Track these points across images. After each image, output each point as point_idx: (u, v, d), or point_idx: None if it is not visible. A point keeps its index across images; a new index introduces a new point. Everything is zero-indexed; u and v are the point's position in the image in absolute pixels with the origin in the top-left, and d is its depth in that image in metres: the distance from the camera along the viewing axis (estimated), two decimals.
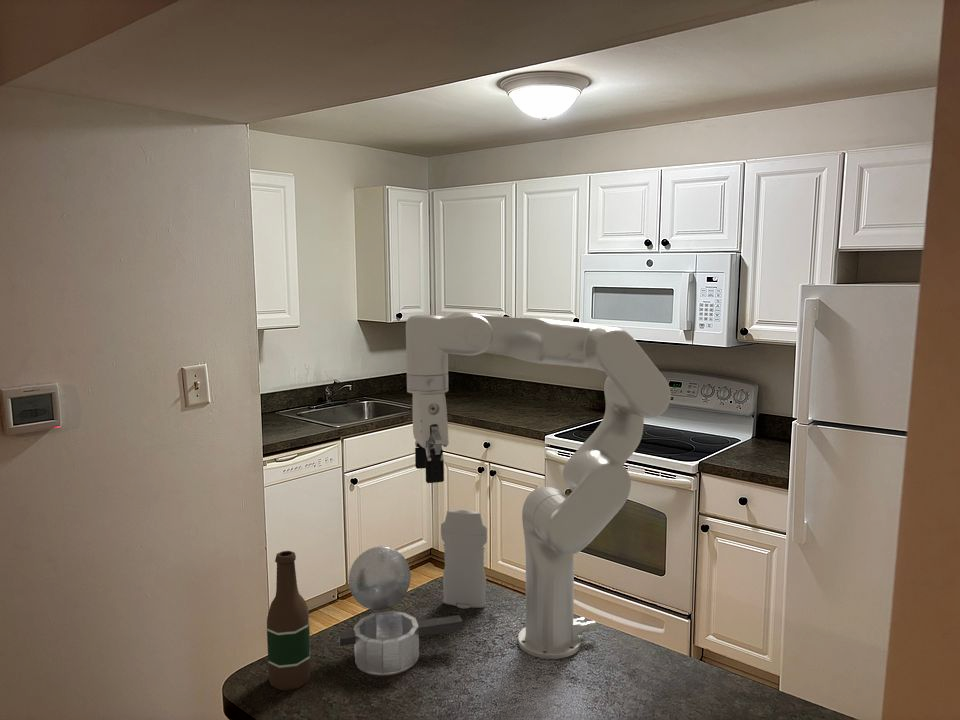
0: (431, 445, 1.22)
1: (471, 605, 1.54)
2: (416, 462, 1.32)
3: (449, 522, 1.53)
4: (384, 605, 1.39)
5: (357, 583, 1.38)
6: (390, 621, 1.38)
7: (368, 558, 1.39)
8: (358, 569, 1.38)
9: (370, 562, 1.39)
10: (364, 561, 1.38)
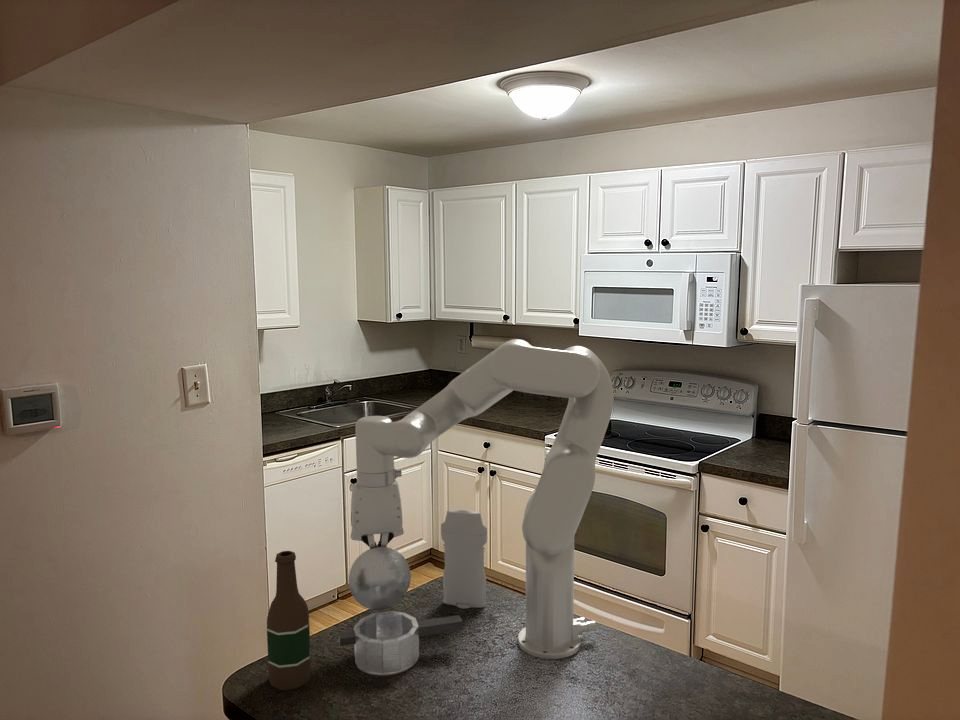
0: None
1: (471, 605, 1.54)
2: None
3: (449, 522, 1.53)
4: (384, 605, 1.39)
5: (357, 583, 1.38)
6: (390, 621, 1.38)
7: (368, 558, 1.39)
8: (358, 569, 1.38)
9: (370, 562, 1.39)
10: (364, 561, 1.38)
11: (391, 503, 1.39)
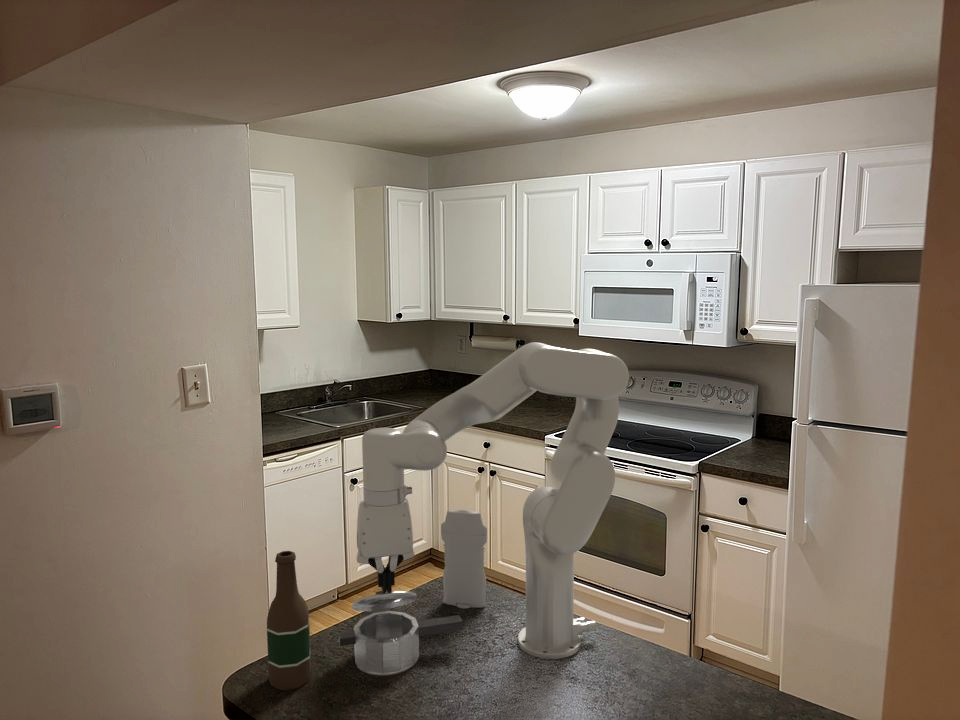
0: None
1: (471, 605, 1.54)
2: (386, 587, 1.29)
3: (449, 522, 1.53)
4: (384, 608, 1.38)
5: (360, 607, 1.33)
6: (390, 621, 1.38)
7: (375, 600, 1.29)
8: (363, 603, 1.30)
9: (377, 600, 1.30)
10: (371, 601, 1.30)
11: (401, 523, 1.27)
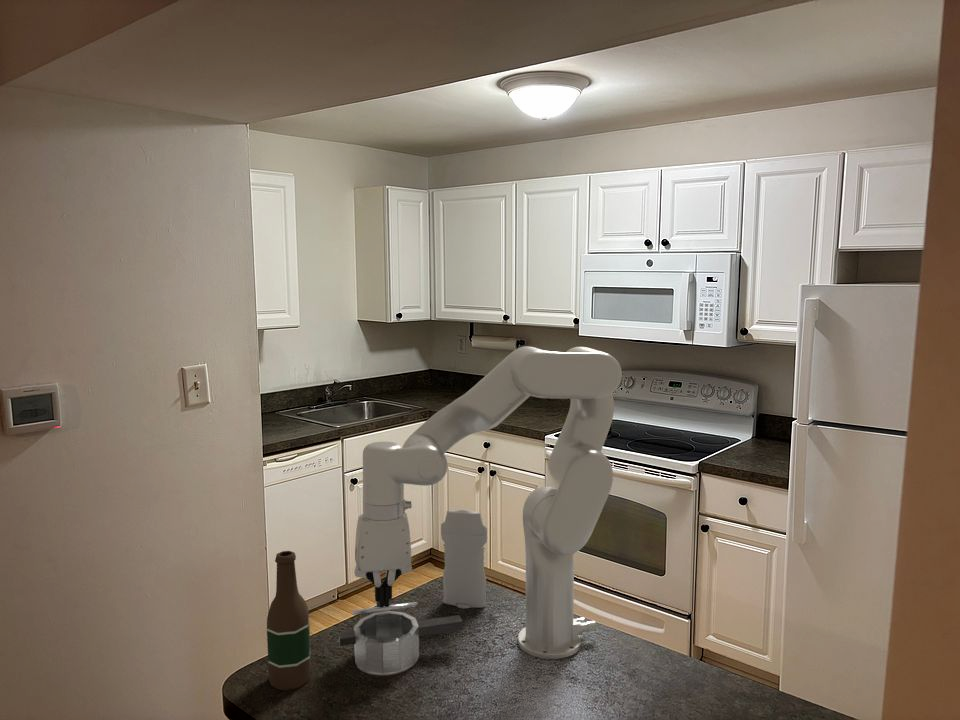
0: None
1: (471, 605, 1.54)
2: (383, 601, 1.29)
3: (449, 522, 1.53)
4: None
5: None
6: (390, 621, 1.38)
7: None
8: None
9: None
10: None
11: (400, 538, 1.27)
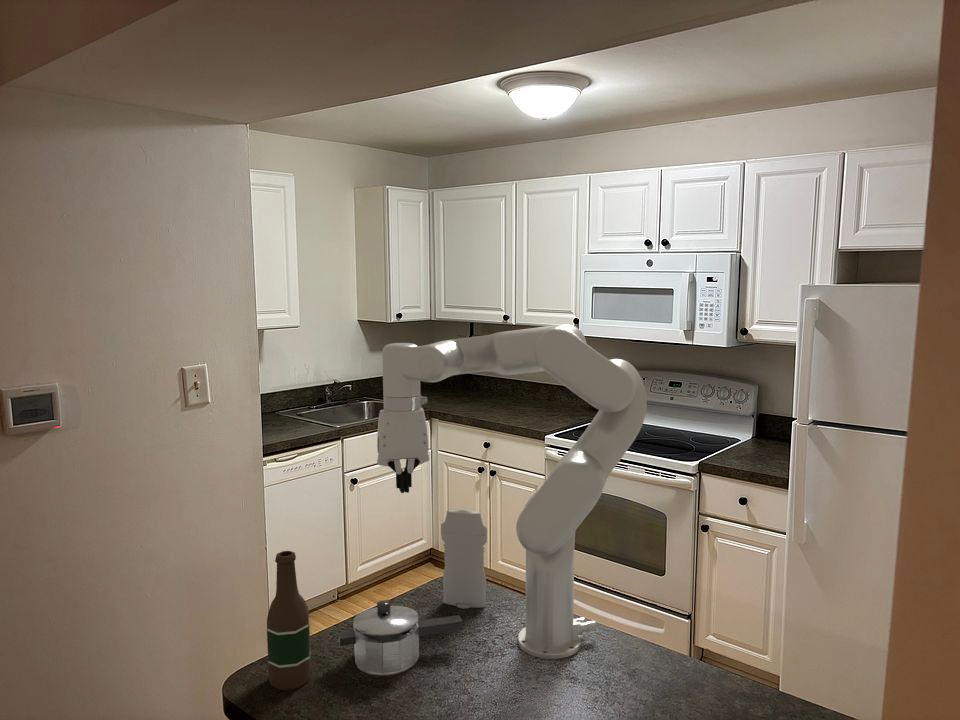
0: None
1: (471, 605, 1.54)
2: (404, 487, 1.42)
3: (449, 522, 1.53)
4: None
5: None
6: None
7: None
8: None
9: None
10: None
11: (417, 428, 1.40)
